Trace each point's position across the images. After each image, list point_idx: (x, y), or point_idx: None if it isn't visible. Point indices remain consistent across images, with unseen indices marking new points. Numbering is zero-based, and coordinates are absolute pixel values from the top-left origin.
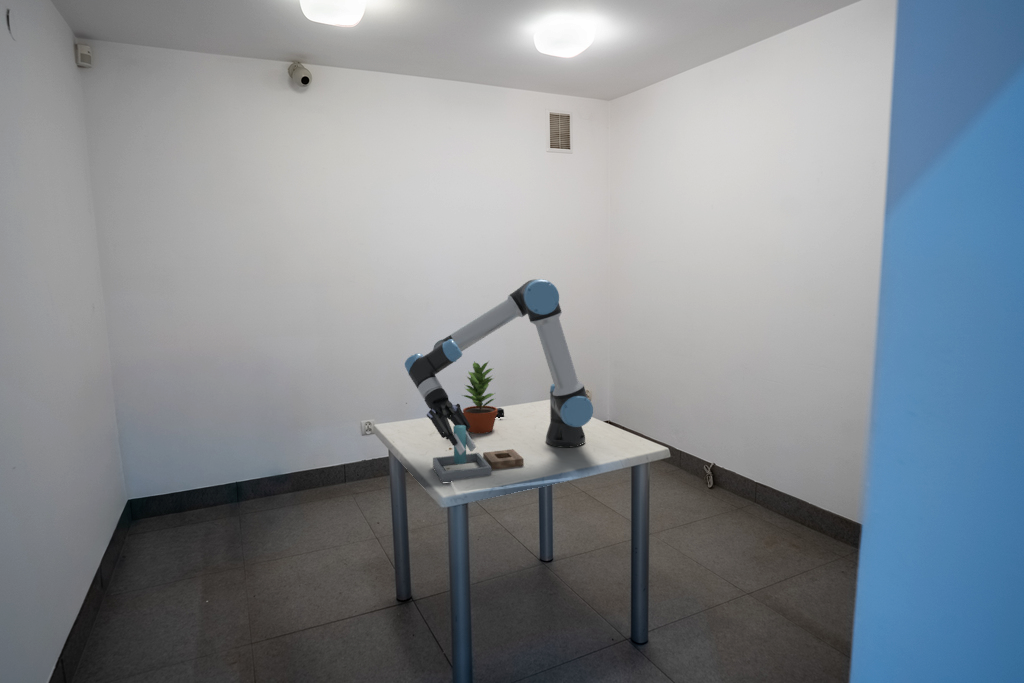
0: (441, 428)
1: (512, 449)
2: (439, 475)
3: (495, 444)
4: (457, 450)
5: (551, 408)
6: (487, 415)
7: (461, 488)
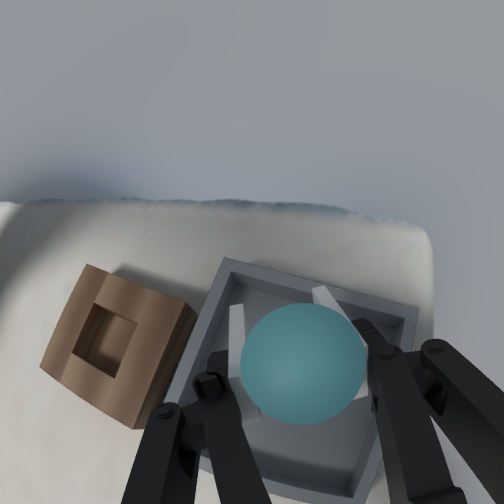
0: (474, 375)
1: (41, 367)
2: None
3: None
4: None
5: None
6: None
7: (364, 253)
